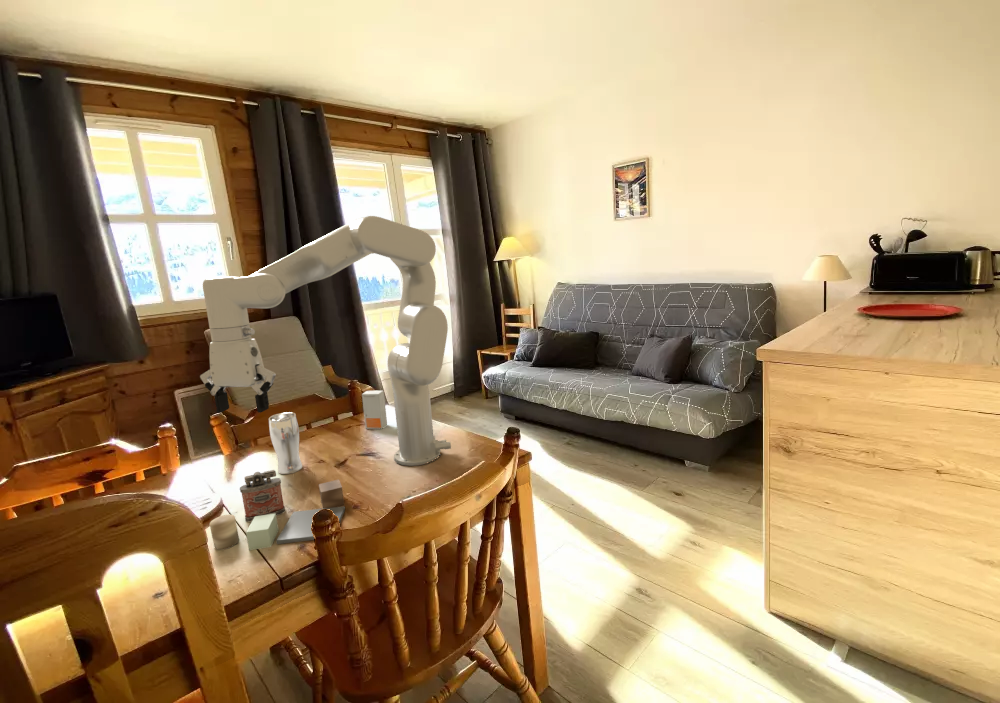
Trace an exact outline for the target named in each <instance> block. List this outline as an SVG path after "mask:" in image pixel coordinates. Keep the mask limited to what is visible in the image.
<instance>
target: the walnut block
mask: <svg viewBox="0 0 1000 703" xmlns="http://www.w3.org/2000/svg"><path fill="white" fill-rule="evenodd" d="M318 488H319V490H318V491H319V495H320V496H319V497H320V503H321V507H322V509H324V508H333V507H342V506H345V500H344V499H345V498H344V492H343V486H342V484H341V481H340V479H335V480H330V481H327V482H323V483H319V484H318Z"/></svg>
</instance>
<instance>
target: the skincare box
mask: <svg viewBox="0 0 1000 703" xmlns="http://www.w3.org/2000/svg"><path fill="white" fill-rule="evenodd" d="M361 397H362V405H363V406H362V408H363V416H364V425H365V429H367V430H368V429H372V430H375V429H376V430H383V429H384V428H385V427H387V425H388V419H387V411H386V410H387V408H386V402H385V401H386V399H385V391H384V390H376V389H375V390H366V391H364V392H363V393H361ZM383 427H384V428H383ZM380 428H381V429H380ZM382 428H383V429H382Z"/></svg>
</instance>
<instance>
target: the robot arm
mask: <svg viewBox="0 0 1000 703" xmlns="http://www.w3.org/2000/svg"><path fill="white" fill-rule="evenodd" d="M436 250H437V249H436V243H435V241H434V239H433V238H432V236H431V235H430V234H429V233H427V232H425V231H423V230H421V229H418V228H415V227H412V226H409V225H406V224H402V223H399V222H396V221H393V220H389V219H387V218H384V217H381V216H376V215H367V216H364V217H360V218H356V219H355V220H352V221H350V222H348V223H346V224H344V225H342V226H340V227H339V228H337V229H335V230H332V231H331V232H329V233H327V234H326V235H323V236H321V237H319V238H317V239H316V240H314V241H312V242H309V243H307V244H305V245H304V246H302V247H300V248H299V249H297V250H295V251H294V252H292V253H290V254H288V255H286V256H284V257H282V258H280V259H279V260H276V261H275V262H273V263H271V264H268V265H267V266H265V267H263V268H260V269H259V270H258V271H255V272H254V273H251V274H250V275H248V276H240V277H239V276H234V275H230V276H229V275H227V276H214V277H207V278H205V279H204V280H203V282H202V289H203V295H204V303H205V307H206V309H205V310H206V314H207V320H208V327H209V333H210V337H211V338H210V339H211V342H209V369H208V370H207V371H205V372H203V373H202V374H200V375H199V378H200V380H201V381H202V382H203V384H204V387H205V388H206V389H207V390H208V391H209V392H210V394H211V396H213V397H214V402H215V403H214V404H215V408H216V412H217V413H218V414H220V413H223V412H225V411H228V409H230V404H229V398H228V393H227V391H225V390H226V388H240V387H241V388H247V387H251V389H253V391H254V392H256V394H255V396H254V399H255V403H256V404H255V405H256V412H258V413H263V412H265V411H267V410H269V407H270V406H269V405H270V404H269V395H268V392H270V389H271V387H273V385H274V381H275V379H276V375H277V374H276V372H275V371H272V370H270V369H268V368H266V367H265V365H264V361H263V357H262V354H261V350H260V347H259V345H258V342H257V340H256V338H252V336H253V335H255V333H256V332H255V329H254V328H251V326H250V321H249V320H250V319H249V313H248V309H271V308H272V309H273V308H275V307H277V306H279V305H280V304H281V303H282V302H283V301H284V299H285V297H286V294H288V293H290V292H292V291H293V290H296V289H298V288H299V287H302V286H304V285H307V284H310V283H313V282H318V281H321V280H325V279H327V278H330V277H332V276H333V275H335V274H337V273H339V272H340V271H342V270H344V269H345V268H348V267H349V266H351V265H353V264H355V263H357V262H358V261H360V260H362V259H363V258H365V257H367V256H369V255H371V254H376V255H380V256H382V257H385V258H389V259H390V261H391V262H392V263H393V264H394V265H395V266H396V267H397V269H398V270H399V271H400V274H401V278H402V290H401V291H402V292H401V298H400V299H401V300H400V304H399V305H400V306H399V311H398V315H397V316H398V317H397V328H398V330H399V332H400V333H401V334H402V335H403V336H404V337H407V338H408V339H410V340H409V342H405V343H400V344H397V345H396V346H394V347H392V349H391V351H390V352H389V353H388V357H387V369H388V375H389V379H390V383H391V387H392V394H393V395H392V396H393V401H394V411H395V420H396V429H397V430H396V431H397V438H398V448H399V449H398V450H396V452H395V453H394V458H393V459H394V461H395V462H396V463H397V464H398V465H401V466H407V467H408V466H409V467H410V466H411V467H412V466H413V467H414V466H422V465H426V464H425V463H427V462H430V461H432V460H434V459H435V458H437V457H438V456H439V455H440V456H441V454H440V452H441V450H450V449H452V445H451V443H452V442H451V441H447V440H446V439H442V440H438V439H436V435H434V429H433V428H434V427H433V419H432V418H433V417H432V406H431V395H430V387H429V385H430V384H432V383H434V382H435V381H436V380H437V379H438V377H439V375H440V374H441V371H442V367H443V362H444V356H445V350H446V344H447V338H448V337H447V336H448V330H449V328H448V326H449V325H448V320H447V319H448V318H447V317H446V314H445V313H444V311H443V310H442V309H441V308H439V307H438V306H437V305H435V299H436V298H435V296H436V287H437V286H436V284H437V283H436V275H435V272H434V269H433V266H432V264H431V262H432V261H433V259H434V258H435V255H436ZM264 381H265V382H264ZM441 453H442V452H441ZM440 456H439V457H440ZM439 457H438V458H439ZM438 458H437V459H438ZM434 461H435V460H434ZM432 462H433V461H432ZM430 463H431V462H430ZM427 464H428V463H427Z"/></svg>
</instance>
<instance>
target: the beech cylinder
mask: <svg viewBox="0 0 1000 703" xmlns="http://www.w3.org/2000/svg"><path fill="white" fill-rule="evenodd" d="M209 528H210V533H211V538H212V543H213V547H215V548H214V549H215V550H218V551H221V550H223V551H224V550H227V549H230V548H232V547H234V546H235V545H237V544H238V543H239V542H240V537H239V531H238V526H237V521H236V517H235V514H224V515H220V516H218V517H215V518H214V519H212V520H211V521H210V522H209Z"/></svg>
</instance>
